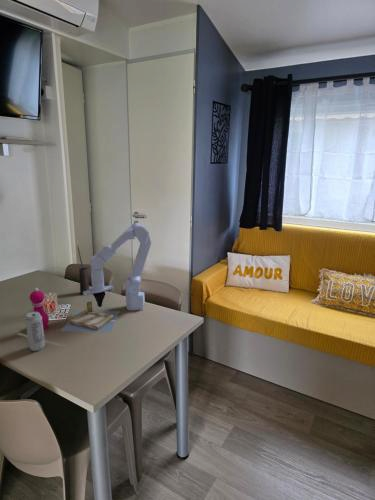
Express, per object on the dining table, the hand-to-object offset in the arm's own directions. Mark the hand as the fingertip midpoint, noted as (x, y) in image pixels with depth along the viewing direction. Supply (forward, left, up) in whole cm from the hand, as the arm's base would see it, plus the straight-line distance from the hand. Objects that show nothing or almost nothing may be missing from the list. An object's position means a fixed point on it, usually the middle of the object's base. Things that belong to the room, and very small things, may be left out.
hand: (99, 306), depth 165 cm
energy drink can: (+17, +31, -4) cm, 36 cm away
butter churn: (+14, -26, -4) cm, 30 cm away
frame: (+1, +9, -3) cm, 10 cm away
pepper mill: (+22, +16, -4) cm, 28 cm away
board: (+1, +9, -4) cm, 10 cm away
